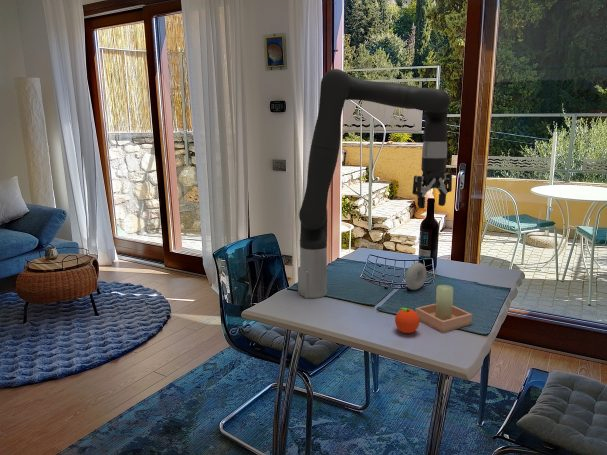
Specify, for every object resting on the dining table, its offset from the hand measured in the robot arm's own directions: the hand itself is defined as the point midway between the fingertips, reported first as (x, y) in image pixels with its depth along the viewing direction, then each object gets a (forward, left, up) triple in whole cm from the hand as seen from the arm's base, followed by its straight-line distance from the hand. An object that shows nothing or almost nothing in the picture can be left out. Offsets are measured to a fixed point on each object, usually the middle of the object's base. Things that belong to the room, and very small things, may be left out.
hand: (431, 206), depth 153 cm
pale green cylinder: (-7, -15, -31) cm, 35 cm away
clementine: (-21, -15, -32) cm, 41 cm away
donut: (+4, +10, -32) cm, 34 cm away
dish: (-7, -15, -32) cm, 36 cm away
